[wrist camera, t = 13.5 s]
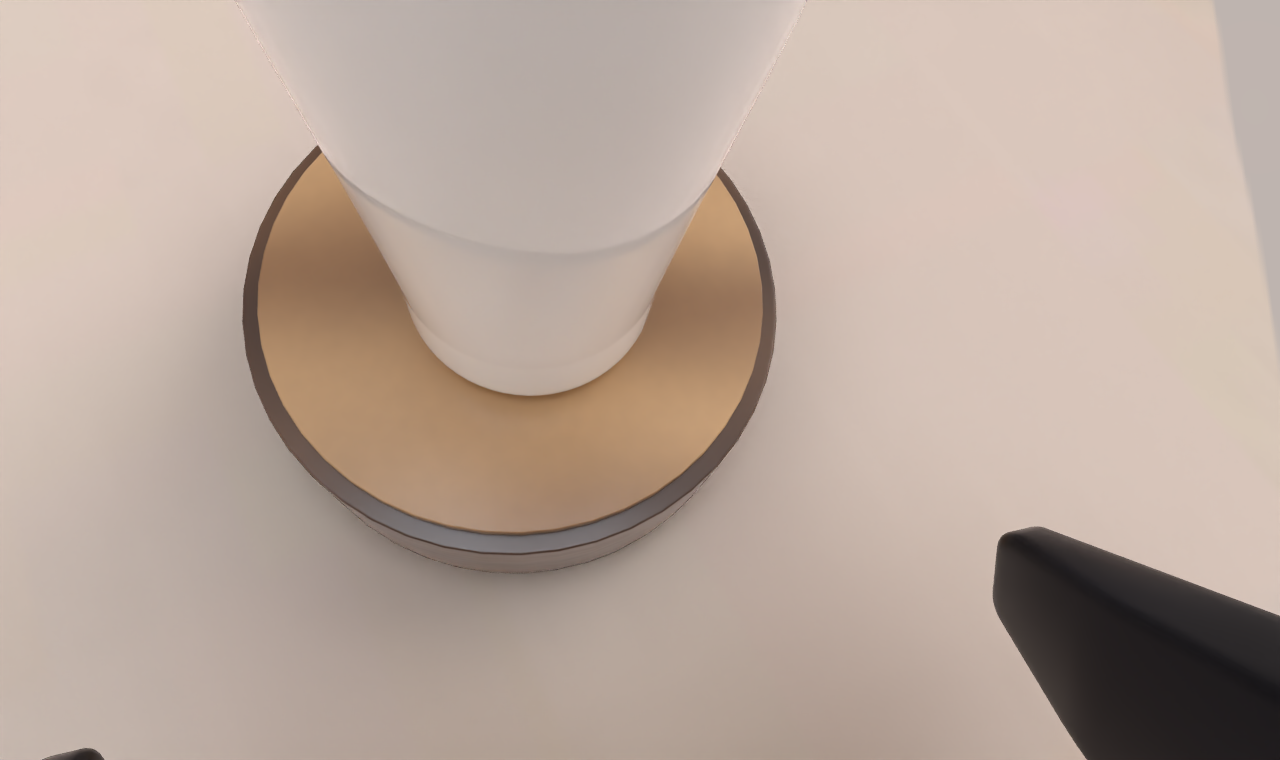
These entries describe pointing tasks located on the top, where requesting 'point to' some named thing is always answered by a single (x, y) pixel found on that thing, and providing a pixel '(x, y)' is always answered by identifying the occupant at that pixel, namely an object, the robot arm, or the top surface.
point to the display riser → (493, 421)
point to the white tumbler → (525, 156)
